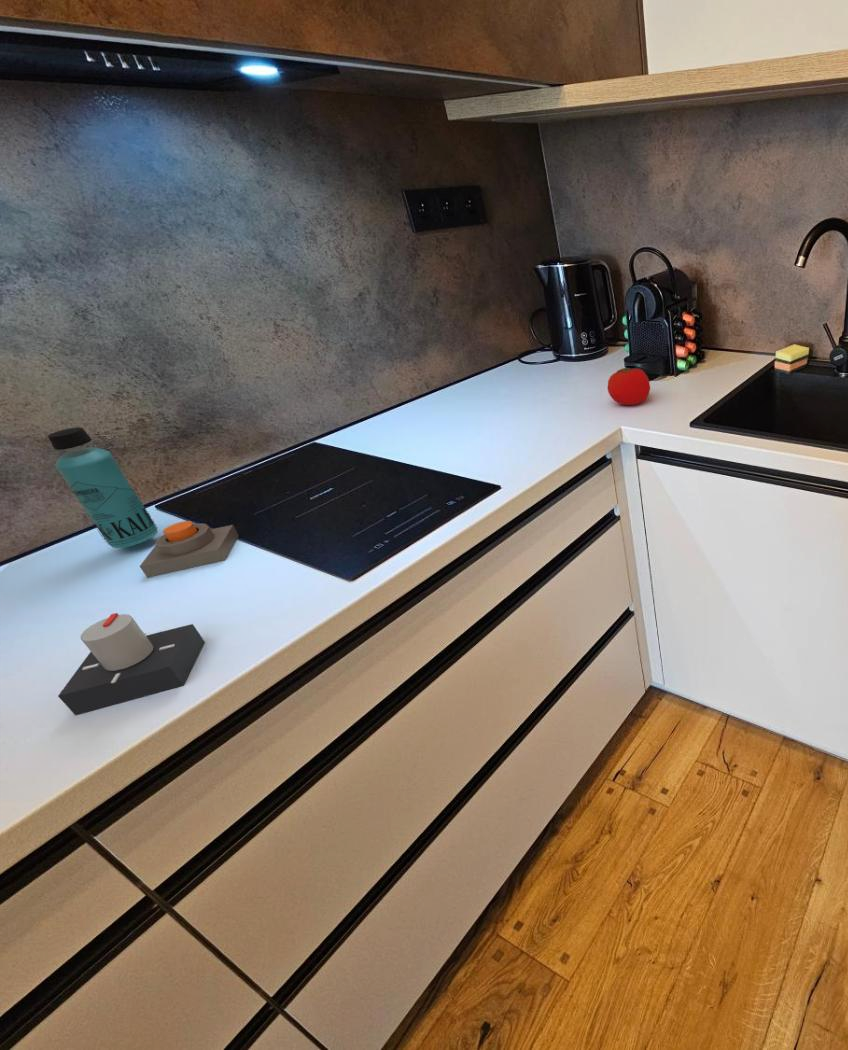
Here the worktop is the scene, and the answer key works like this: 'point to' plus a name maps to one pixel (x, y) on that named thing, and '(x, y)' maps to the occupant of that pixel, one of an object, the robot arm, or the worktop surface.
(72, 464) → the beverage bottle
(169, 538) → the lid button
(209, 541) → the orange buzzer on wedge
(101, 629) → the dial
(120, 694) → the black angular plate
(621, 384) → the tomato
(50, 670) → the worktop surface
